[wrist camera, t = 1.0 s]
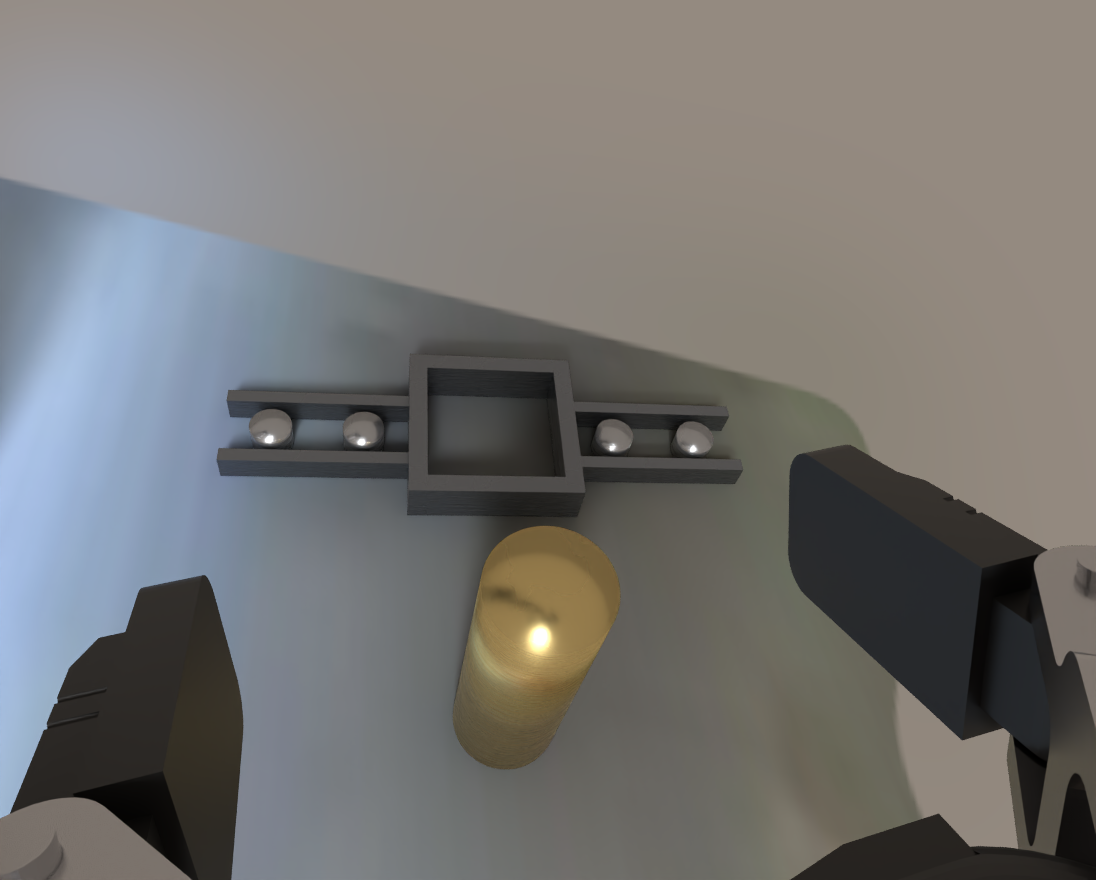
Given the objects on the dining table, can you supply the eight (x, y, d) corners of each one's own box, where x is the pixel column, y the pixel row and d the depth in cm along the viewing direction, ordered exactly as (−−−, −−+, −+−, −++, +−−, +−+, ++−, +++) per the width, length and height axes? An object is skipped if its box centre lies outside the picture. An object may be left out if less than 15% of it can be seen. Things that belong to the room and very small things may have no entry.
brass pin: (430, 718, 32) (450, 588, 24) (500, 645, 35) (543, 501, 26) (509, 792, 31) (560, 684, 23) (576, 713, 33) (647, 586, 25)
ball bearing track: (214, 513, 36) (206, 487, 34) (237, 374, 40) (231, 346, 39) (743, 517, 40) (758, 495, 39) (711, 392, 45) (724, 367, 43)
